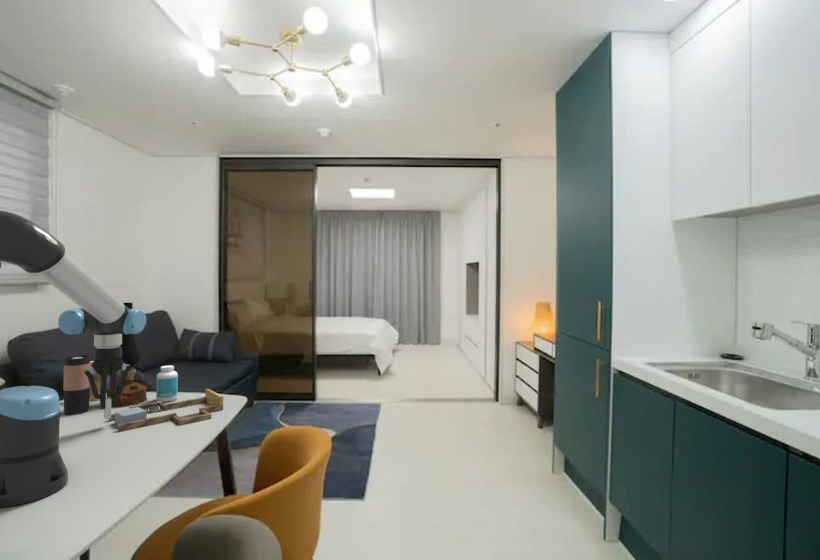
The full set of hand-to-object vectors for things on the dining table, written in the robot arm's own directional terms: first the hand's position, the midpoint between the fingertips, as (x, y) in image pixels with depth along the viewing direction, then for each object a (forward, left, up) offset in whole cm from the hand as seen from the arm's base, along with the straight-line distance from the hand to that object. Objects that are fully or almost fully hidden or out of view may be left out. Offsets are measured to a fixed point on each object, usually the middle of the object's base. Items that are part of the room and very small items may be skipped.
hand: (107, 417), depth 139 cm
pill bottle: (+24, +20, -3) cm, 31 cm away
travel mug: (-4, +26, -3) cm, 26 cm away
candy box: (+2, +40, -3) cm, 40 cm away
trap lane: (+18, 0, -3) cm, 18 cm away
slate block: (+7, 0, -3) cm, 7 cm away
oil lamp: (+12, +28, -3) cm, 30 cm away
